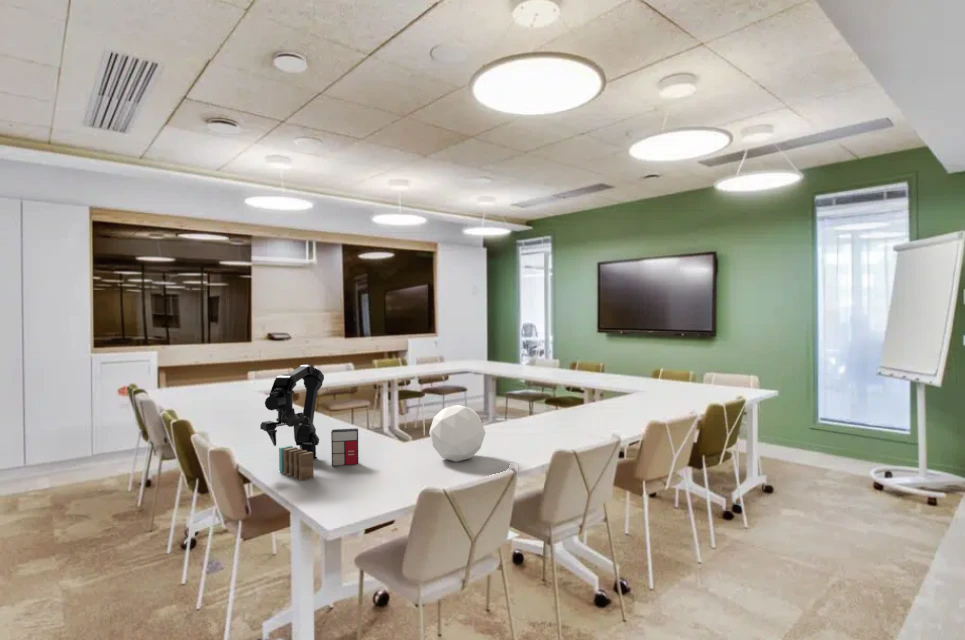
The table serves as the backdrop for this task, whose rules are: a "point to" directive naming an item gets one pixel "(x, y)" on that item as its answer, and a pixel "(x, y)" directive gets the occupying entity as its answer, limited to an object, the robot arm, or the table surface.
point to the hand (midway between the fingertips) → (285, 443)
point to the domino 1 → (282, 457)
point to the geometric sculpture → (457, 433)
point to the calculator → (344, 447)
